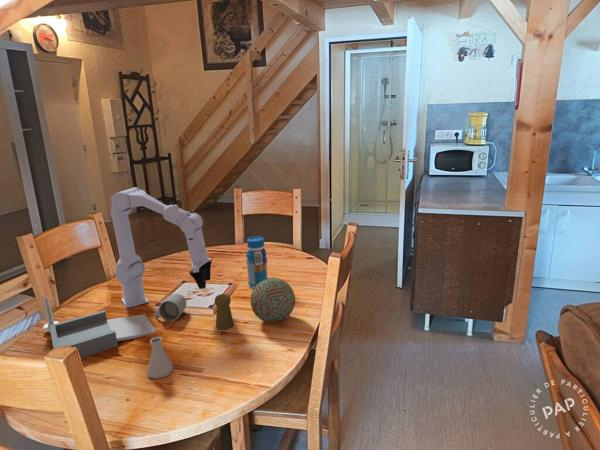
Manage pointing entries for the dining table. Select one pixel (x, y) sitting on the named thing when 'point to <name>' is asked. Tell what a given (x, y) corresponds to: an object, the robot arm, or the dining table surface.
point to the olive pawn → (223, 312)
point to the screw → (48, 314)
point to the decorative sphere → (272, 300)
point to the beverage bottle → (256, 261)
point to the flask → (158, 360)
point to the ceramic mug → (171, 307)
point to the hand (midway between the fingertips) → (205, 284)
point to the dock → (98, 332)
